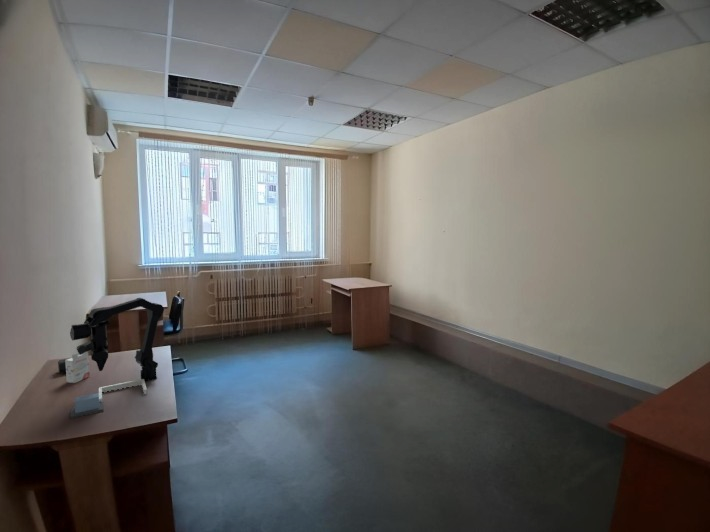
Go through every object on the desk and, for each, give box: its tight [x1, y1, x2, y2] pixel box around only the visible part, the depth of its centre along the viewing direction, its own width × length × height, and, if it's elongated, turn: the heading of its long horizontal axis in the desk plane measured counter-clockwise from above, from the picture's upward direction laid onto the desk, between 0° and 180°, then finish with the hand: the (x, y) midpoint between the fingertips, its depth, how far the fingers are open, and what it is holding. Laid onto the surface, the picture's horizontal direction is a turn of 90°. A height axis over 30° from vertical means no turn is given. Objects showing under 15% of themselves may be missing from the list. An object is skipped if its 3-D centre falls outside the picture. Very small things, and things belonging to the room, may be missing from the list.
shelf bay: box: [98, 378, 148, 402], centre depth 166 cm, size 18×14×2 cm
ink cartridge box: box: [65, 351, 91, 384], centre depth 180 cm, size 9×5×15 cm, turn 168°
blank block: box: [74, 392, 99, 413], centre depth 149 cm, size 4×8×5 cm, turn 126°
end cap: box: [57, 358, 67, 374], centre depth 191 cm, size 10×7×7 cm
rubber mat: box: [70, 401, 105, 420], centre depth 149 cm, size 11×8×1 cm
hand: (100, 367), depth 166 cm, fingers open, 9 cm apart
